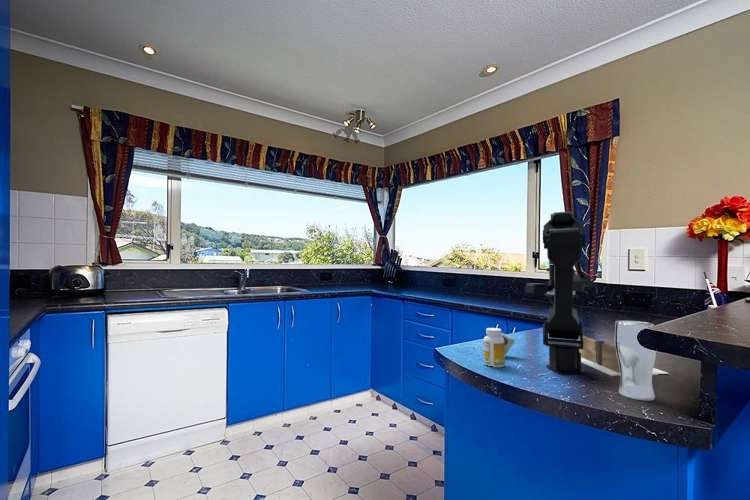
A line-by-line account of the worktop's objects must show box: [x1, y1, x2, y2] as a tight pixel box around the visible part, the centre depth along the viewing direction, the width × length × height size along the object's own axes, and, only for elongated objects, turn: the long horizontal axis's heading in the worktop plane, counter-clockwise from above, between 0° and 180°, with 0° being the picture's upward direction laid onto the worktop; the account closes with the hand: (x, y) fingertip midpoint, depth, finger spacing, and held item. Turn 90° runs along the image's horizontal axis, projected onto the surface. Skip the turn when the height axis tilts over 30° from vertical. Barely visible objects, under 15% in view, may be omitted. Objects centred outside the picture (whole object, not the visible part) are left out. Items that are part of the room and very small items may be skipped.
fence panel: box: [578, 335, 598, 362], centre depth 100 cm, size 10×2×6 cm, turn 3°
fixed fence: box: [597, 340, 620, 373], centre depth 89 cm, size 2×11×7 cm, turn 3°
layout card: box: [581, 356, 670, 377], centre depth 95 cm, size 14×18×1 cm
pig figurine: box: [501, 332, 516, 356], centre depth 105 cm, size 8×4×7 cm, turn 82°
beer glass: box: [614, 320, 657, 402], centre depth 74 cm, size 7×7×15 cm
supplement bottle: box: [483, 327, 506, 368], centre depth 96 cm, size 5×5×10 cm
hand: (561, 318), depth 102 cm, fingers closed
